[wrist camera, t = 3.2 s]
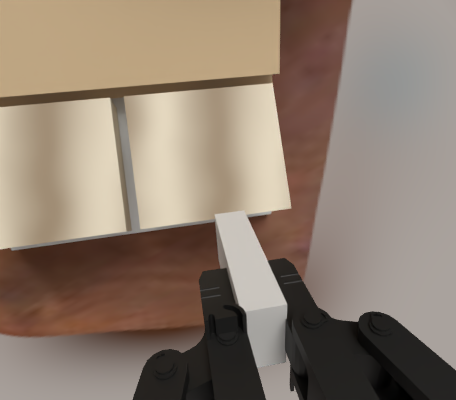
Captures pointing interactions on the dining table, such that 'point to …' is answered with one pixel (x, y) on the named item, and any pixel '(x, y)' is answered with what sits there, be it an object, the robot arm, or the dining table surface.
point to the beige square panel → (206, 154)
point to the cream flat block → (61, 172)
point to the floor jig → (133, 56)
